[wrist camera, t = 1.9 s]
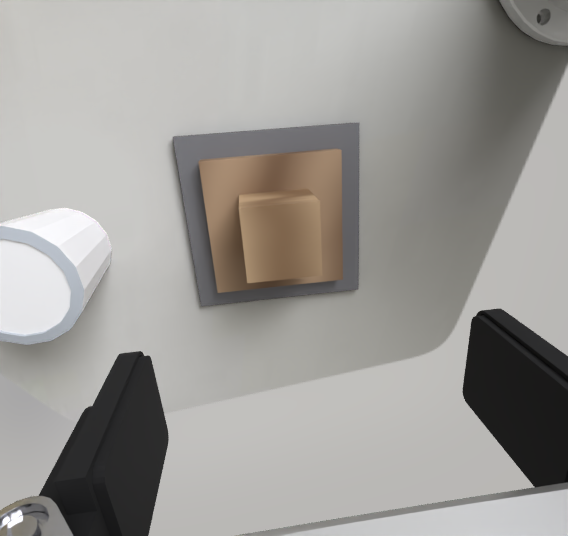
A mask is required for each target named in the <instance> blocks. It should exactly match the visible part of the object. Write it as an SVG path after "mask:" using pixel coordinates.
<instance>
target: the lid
mask: <svg viewBox="0 0 568 536" xmlns="http://www.w3.org/2000/svg"><path fill="white" fill-rule="evenodd" d="M199 169H200V176H201V182H202V189H203V196H204V203H205V209H206V216H207V223H208V230H209V236H210V243H211V250H212V257H213V264H214V270H215V277H216V284H217V291H218V293H222V292H232V291H241V290H250V289H260V288H269V287H278V286H288V285H297V284H306V283H316V282H325V281H335V280H343V238H342V150H340V149H325V150H313V151H301V152H288V153H276V154H264V155H251V156H239V157H227V158H214V159H202V160H200V161H199Z"/></svg>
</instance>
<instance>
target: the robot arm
mask: <svg viewBox="0 0 568 536" xmlns="http://www.w3.org/2000/svg"><path fill="white" fill-rule="evenodd" d="M499 1H500V3H501V4H502V6H503V8H504V10H505V11H506V13H507V15H508V16H509V18H510V19H511V20H512V21H513V22H514V23H515V24H516V25H517V26H518V27H519V28H520V29H521V31H523V32H524V33H526V34H528V35H529V36H531V37H532V38H534V39H536V40H538V41H541V42H545V43H548V44H551V45H564V46H568V0H499ZM463 396H464V399H465V401H466V403H467V404H468V405H469V406H470V408H471V409H472V410H473V411H474V413H475V414H476V415H477V416H478V418H479V419H480V420H481V421H482V422H483V424H484V425H485V426H486V427H487V429H488V430H489V431H490V432H491V434H492V435H493V436H494V437H495V439H496V440H497V441H498V442H499V444H500V445H501V446H502V447H503V448H504V450H505V451H506V452H507V453H508V455H509V456H510V457H511V458H512V460H513V461H514V462H515V463H516V465H517V466H518V467H519V468H520V469H521V471H522V472H523V473H524V474H525V476H526V477H527V478H528V479H529V480H530V482H531V483H532V484H533V486H535V488H529V489H522V490H516V491H509V492H502V493H496V494H489V495H483V496H476V497H470V498H463V499H457V500H451V501H445V502H438V503H432V504H425V505H419V506H413V507H407V508H401V509H395V510H388V511H383V512H376V513H370V514H364V515H357V516H351V517H345V518H338V519H333V520H326V521H320V522H315V523H308V524H303V525H296V526H290V527H284V528H278V529H272V530H266V531H260V532H255V533H248V534H242V535H236V536H568V356H566V355H565V354H564V353H562V352H561V351H559V350H558V349H557V348H555V347H554V346H553V345H551V344H550V343H548V342H547V341H545V340H544V339H543V338H541V337H540V336H539V335H537V334H536V333H534V332H533V331H532V330H530V329H529V328H527V327H526V326H525V325H523V324H522V323H520V322H519V321H518V320H516V319H515V318H513V317H512V316H511V315H509V314H508V313H506V312H505V311H504V310H502V309H492V310H484V311H480V312H478V313H477V315H476V316H475V317H473V319H472V322H471V330H470V337H469V345H468V353H467V360H466V369H465V376H464V384H463ZM167 446H168V429H167V425H166V420H165V416H164V412H163V408H162V403H161V399H160V395H159V390H158V386H157V382H156V378H155V373H154V369H153V365H152V361H151V358H150V356H144V354H143V353H142V352H141V351H139V352H131V353H122V354H119V355H118V357H117V359H116V361H115V363H114V365H113V367H112V369H111V371H110V372H109V374H108V376H107V378H106V380H105V382H104V384H103V386H102V388H101V390H100V392H99V394H98V396H97V398H96V400H95V402H94V404H93V406H91V407H88V408H86V409H85V410H84V412H83V413H82V415H81V417H80V419H79V421H78V422H77V424H76V427H75V428H74V430H73V432H72V434H71V436H70V438H69V440H68V442H67V443H66V445H65V447H64V449H63V451H62V453H61V455H60V457H59V459H58V460H57V462H56V464H55V466H54V468H53V470H52V472H51V473H50V475H49V477H48V479H47V481H46V483H45V485H44V487H43V489H42V490H41V492H40V494H39V496H34V497H28V498H25V499H22V500H19V501H16V502H14V503H13V504H10V505H9V506H7V507H5V508H3V509H2V510H0V536H148V534H149V530H150V525H151V520H152V515H153V511H154V506H155V502H156V497H157V492H158V488H159V483H160V479H161V474H162V469H163V464H164V460H165V455H166V450H167Z"/></svg>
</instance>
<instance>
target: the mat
mask: <svg viewBox="0 0 568 536" xmlns="http://www.w3.org/2000/svg"><path fill="white" fill-rule="evenodd" d="M173 142H174V148H175V154H176V159H177V165H178V171H179V177H180V183H181V189H182V195H183V201H184V207H185V213H186V219H187V225H188V231H189V237H190V243H191V249H192V255H193V261H194V266H195V272H196V278H197V284H198V290H199V296H200V302H201V306H209V305H218V304H228V303H237V302H246V301H255V300H264V299H273V298H283V297H292V296H301V295H310V294H319V293H329V292H338V291H347V290H356V289H358V272H359V123H345V124H332V125H319V126H306V127H293V128H280V129H267V130H253V131H240V132H227V133H214V134H201V135H188V136H175V137H173ZM325 149H340V150H342V238H343V280H335V281H325V282H316V283H306V284H297V285H288V286H278V287H269V288H260V289H250V290H241V291H232V292H222V293H218V291H217V284H216V277H215V270H214V264H213V257H212V250H211V243H210V236H209V230H208V223H207V216H206V209H205V203H204V196H203V189H202V182H201V176H200V169H199V161H200V160H202V159H214V158H227V157H239V156H251V155H264V154H276V153H288V152H301V151H313V150H325Z"/></svg>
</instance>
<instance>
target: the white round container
mask: <svg viewBox="0 0 568 536" xmlns="http://www.w3.org/2000/svg"><path fill="white" fill-rule="evenodd" d="M111 253H112V247H111V244H110V241H109V238H108V235H107V233H106V232H105V231H104V229H103V228H102V227H101V226H100V224H99V223H98V222H97V221H96V220H94V219H93V218H91V217H89V216H88V215H86V214H85V213H83V212H81V211H77V210H72V209H68V208H58V209H51V210H46V211H42V212H38V213H35V214H31V215H27V216H24V217H20V218H17V219H13V220H9V221H6V222H2V223H0V341H5V342H12V343H18V344H25V345H29V344H35V343H41V342H47V341H52V340H54V339H55V338H57V337H59V336H60V335H62V334H64V333H65V332H67V331H69V330H70V329H71V328H72V326H73V325H74V323H75V322H76V320H77V319H78V317H79V316H80V314H81V313H82V311H83V309H84V308H85V306H86V304H87V303H88V301H89V299H90V297H91V296H92V294H93V292H94V290H95V289H96V287H97V285H98V284H99V282H100V280H101V278H102V277H103V275H104V273H105V271H106V270H107V268H108V266H109V265H110V262H111Z"/></svg>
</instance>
